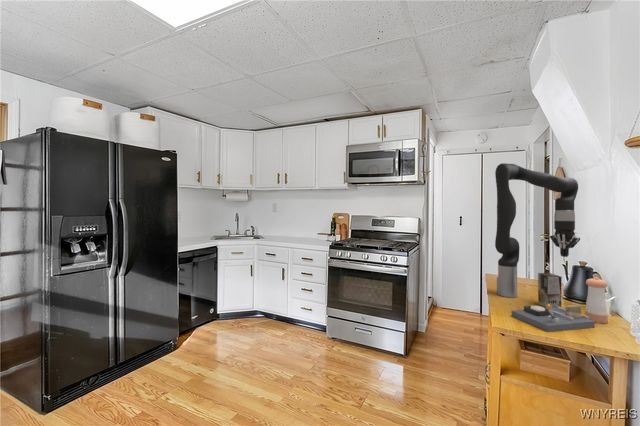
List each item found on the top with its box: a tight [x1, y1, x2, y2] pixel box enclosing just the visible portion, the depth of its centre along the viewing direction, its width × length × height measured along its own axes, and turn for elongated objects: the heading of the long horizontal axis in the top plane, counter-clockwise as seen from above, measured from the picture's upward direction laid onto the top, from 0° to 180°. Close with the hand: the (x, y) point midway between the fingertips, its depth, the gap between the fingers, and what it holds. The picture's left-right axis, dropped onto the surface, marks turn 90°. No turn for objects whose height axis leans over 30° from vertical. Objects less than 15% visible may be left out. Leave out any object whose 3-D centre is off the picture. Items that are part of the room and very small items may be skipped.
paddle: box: [565, 304, 582, 318], centre depth 126 cm, size 2×6×5 cm, turn 100°
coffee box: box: [537, 272, 563, 308], centre depth 149 cm, size 9×6×16 cm
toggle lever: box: [545, 304, 555, 319], centre depth 122 cm, size 2×2×6 cm
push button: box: [530, 305, 546, 311], centre depth 132 cm, size 5×5×2 cm
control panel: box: [511, 305, 596, 333], centre depth 129 cm, size 18×23×4 cm
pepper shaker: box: [584, 276, 609, 324], centre depth 129 cm, size 7×7×19 cm
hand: (564, 256), depth 138 cm, fingers closed
